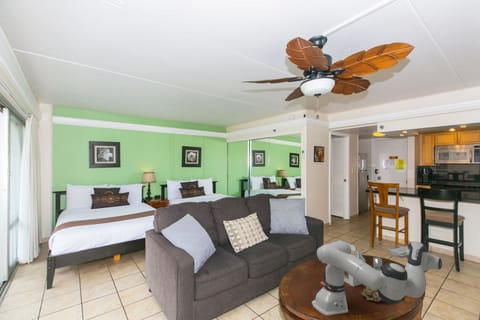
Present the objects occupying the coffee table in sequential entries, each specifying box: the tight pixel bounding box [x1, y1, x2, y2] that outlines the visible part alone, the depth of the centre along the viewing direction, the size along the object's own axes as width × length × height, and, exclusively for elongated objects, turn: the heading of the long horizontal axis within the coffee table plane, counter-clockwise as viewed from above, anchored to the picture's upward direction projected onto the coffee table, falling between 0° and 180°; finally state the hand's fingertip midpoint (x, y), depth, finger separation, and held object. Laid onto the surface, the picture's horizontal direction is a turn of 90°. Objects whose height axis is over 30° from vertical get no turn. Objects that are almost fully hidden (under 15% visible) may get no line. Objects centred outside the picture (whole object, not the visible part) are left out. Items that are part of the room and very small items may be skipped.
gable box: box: [338, 239, 366, 288], centre depth 174 cm, size 22×13×28 cm, turn 22°
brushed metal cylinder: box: [372, 256, 383, 271], centre depth 176 cm, size 6×6×12 cm
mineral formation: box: [360, 286, 383, 302], centre depth 146 cm, size 8×13×15 cm
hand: (392, 247), depth 165 cm, fingers open, 8 cm apart
